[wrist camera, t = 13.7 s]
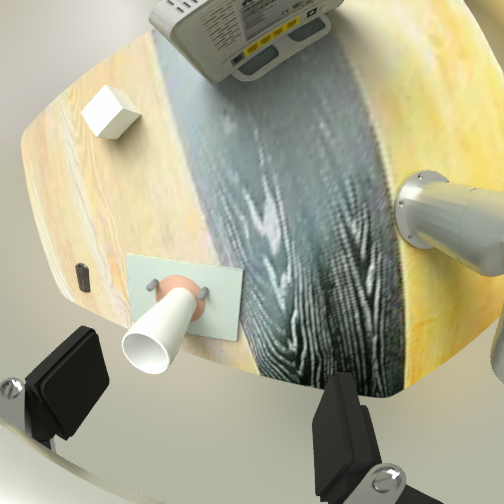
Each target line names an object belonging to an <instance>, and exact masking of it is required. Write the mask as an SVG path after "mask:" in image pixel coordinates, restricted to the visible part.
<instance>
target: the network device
mask: <svg viewBox="0 0 504 504" xmlns="http://www.w3.org/2000/svg"><path fill="white" fill-rule="evenodd" d="M343 1H344V0H162V1H161V2H160V3H158V4H157V5H156V6H155V7H154V8H153V9H152V11H151V12H150V14H149V22H150V23H151V24H152V25H153V26H154V27H155V28H156V29H157V30H158V31H159V32H160V33H161V34H162V35H163V36H164V37H165V38H166V39H167V40H168V41H169V42H170V43H171V44H172V45H173V46H174V47H175V48H176V49H177V50H178V51H179V52H180V53H181V54H182V55H183V56H184V58H185V59H186V60H187V61H188V62H189V63H190V64H191V65H192V66H193V67H194V68H195V69H196V70H197V71H198V72H199V73H200V74H201V75H202V76H203V77H204V78H205V79H206V80H207V81H208V82H209V83H210V84H211V85H214V84H217V83H219V82H220V81H222V80H223V79H224V78H226V77H227V76H228V75H230V74H231V75H232V76H233V77H235V78H236V79H238V80H240V81H247V82H249V81H254V80H257V79H259V78H260V77H262V76H263V75H265V74H266V73H267V72H269V71H270V70H272V69H273V68H274V67H276V66H277V65H279V64H280V63H282V62H283V61H285V60H286V59H288V58H289V57H291V56H292V55H294V54H295V53H297V52H298V51H300V50H302V49H303V48H305V47H306V46H308V45H310V44H311V43H313V42H315V41H316V40H318V39H320V38H322V37H323V36H325V35H326V34H328V33H329V31H330V29H331V22H330V20H329V18H328V17H327V16H326V15H325V13H327V12H329V11H331V10H333V9H335V8H337V7H338V6H340V5H341V4H342V3H343ZM315 18H318V19H319V20H320V21H322V22H323V23H324V25H325V28H324V29H322V30H320V31H318V32H317V33H315V34H313V35H311V36H310V37H308V38H306V39H305V40H303V41H300V42H297V41H294V40H292V39H291V38H290V37H289V36H287V35H288V34H289V33H291V32H292V31H294V30H296V29H298V28H299V27H301V26H303V25H305V24H306V23H308V22H310V21H312V20H314V19H315ZM270 45H272V46H273V47H274V48H275V49H276V50H277V51H278V52H279V55H278V56H277V57H276V58H275V59H273V60H272V61H271V62H269V63H268V64H266V65H265V66H263V67H262V68H261V69H259V70H258V71H256V72H255V73H254V74H252V75H244V74H242V73H241V72H240V71H239V70H238V69H237V68H239V67H240V66H241V65H243V64H244V63H246V62H247V61H248V60H250V59H251V58H253V57H254V56H255V55H257V54H258V53H260V52H261V51H263V50H264V49H266V48H267V47H269V46H270Z"/></svg>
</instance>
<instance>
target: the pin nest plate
mask: <svg viewBox="0 0 504 504" xmlns="http://www.w3.org/2000/svg"><path fill="white" fill-rule="evenodd" d="M126 266H127V281H128V292H129V302H130V311H131V320H132V321H134V322H136V321H137V320H138V319H139V318H140V317H141V316H142V315H143V314H145V313H146V312H147V311H148V310H149V309H150V308H152V307H153V306H154V305H155V304H156V303H157V302H159V301H160V300H161V299H162V298H163V297H164V296H165V295H166V294H167V293H168V292H169V291H170V290H172V289H173V288H177V287H181V288H185V289H187V290H189V291H190V292H191V293H192V294H193V295H194V296H195V298H196V301H197V308H196V311H195V312H194V314H193V316H192V318H191V321H190V323H189V326H188V328H187V331H186V333H189V334H194V335H199V336H205V337H211V338H217V339H223V340H229V341H235V342H236V341H237V336H238V325H239V314H240V303H241V292H242V281H243V271H244V269H240V268H232V267H225V266H217V265H210V264H202V263H195V262H188V261H181V260H174V259H167V258H160V257H153V256H146V255H139V254H133V253H128V254H127V255H126Z"/></svg>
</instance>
